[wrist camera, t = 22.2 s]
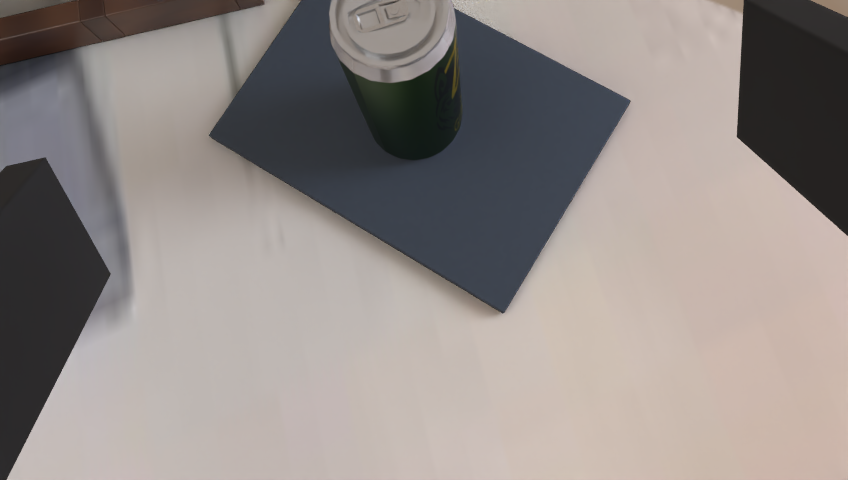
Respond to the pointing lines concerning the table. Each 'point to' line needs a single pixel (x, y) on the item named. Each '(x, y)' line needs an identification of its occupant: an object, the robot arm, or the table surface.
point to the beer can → (401, 70)
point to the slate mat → (442, 173)
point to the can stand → (98, 23)
